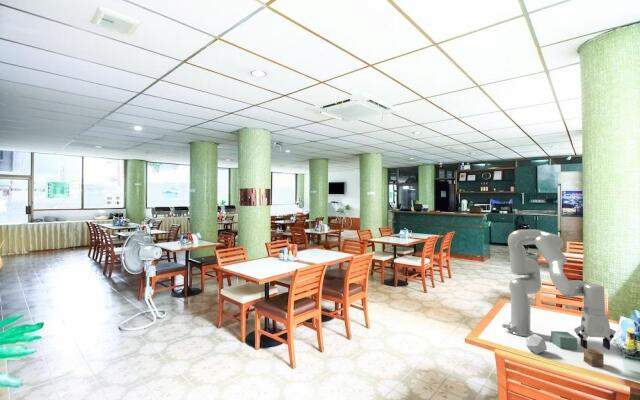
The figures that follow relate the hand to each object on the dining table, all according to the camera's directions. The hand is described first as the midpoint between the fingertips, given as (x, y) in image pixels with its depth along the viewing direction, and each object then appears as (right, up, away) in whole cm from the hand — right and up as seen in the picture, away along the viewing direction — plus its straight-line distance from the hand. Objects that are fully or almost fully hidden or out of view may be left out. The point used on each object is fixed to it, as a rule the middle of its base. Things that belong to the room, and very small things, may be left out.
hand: (595, 348), depth 147 cm
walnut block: (0, -8, +1) cm, 8 cm away
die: (-19, -8, +12) cm, 24 cm away
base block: (+1, -8, +20) cm, 21 cm away
